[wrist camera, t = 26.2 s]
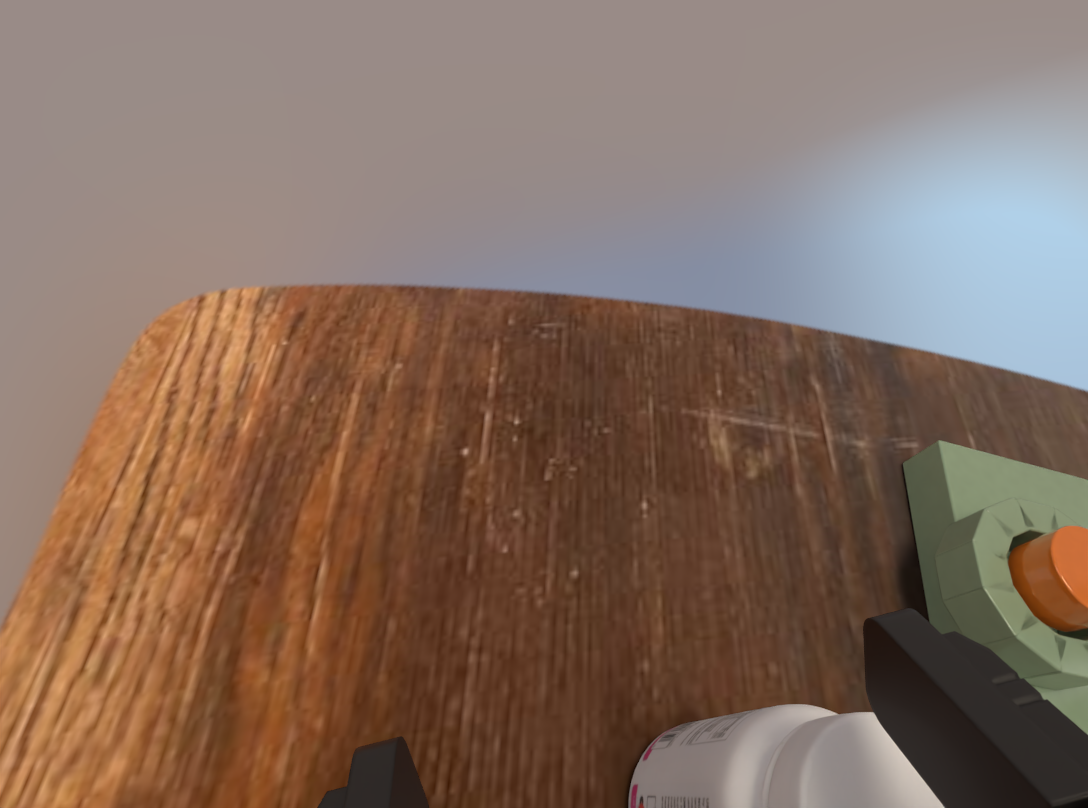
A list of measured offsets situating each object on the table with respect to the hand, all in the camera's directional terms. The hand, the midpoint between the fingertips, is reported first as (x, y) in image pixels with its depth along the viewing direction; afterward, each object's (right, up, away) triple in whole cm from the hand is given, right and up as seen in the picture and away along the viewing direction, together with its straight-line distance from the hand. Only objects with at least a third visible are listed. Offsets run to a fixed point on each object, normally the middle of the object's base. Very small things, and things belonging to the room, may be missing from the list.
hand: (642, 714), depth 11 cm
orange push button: (+15, -1, +11) cm, 18 cm away
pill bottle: (+3, -7, +8) cm, 11 cm away
